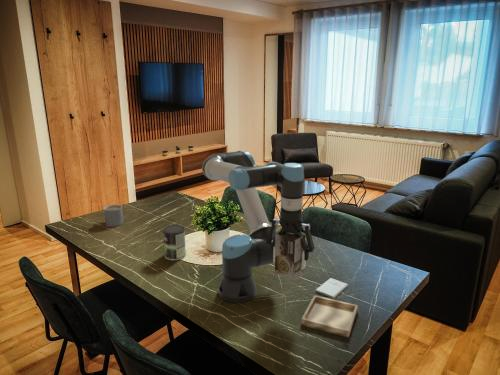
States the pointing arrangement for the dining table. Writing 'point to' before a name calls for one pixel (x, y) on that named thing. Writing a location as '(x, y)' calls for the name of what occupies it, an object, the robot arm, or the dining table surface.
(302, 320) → the holder
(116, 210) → the coffee mug
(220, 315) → the dining table surface
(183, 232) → the coffee can
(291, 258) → the coffee box
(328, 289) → the external hard drive
